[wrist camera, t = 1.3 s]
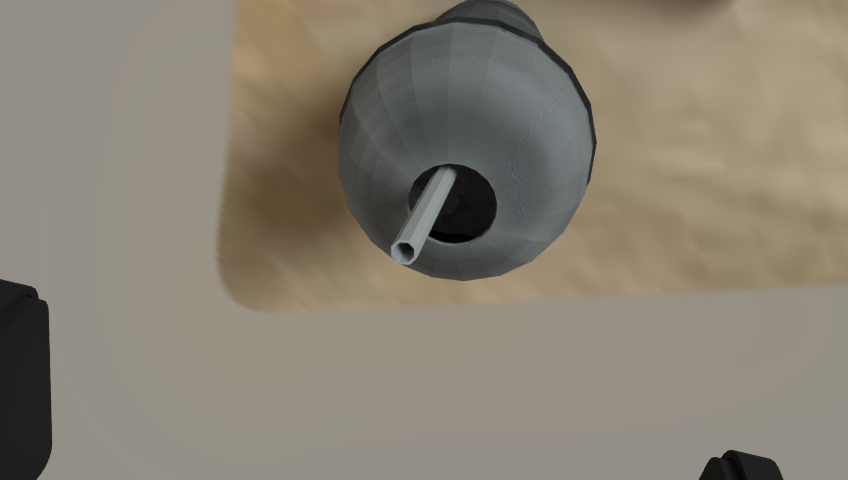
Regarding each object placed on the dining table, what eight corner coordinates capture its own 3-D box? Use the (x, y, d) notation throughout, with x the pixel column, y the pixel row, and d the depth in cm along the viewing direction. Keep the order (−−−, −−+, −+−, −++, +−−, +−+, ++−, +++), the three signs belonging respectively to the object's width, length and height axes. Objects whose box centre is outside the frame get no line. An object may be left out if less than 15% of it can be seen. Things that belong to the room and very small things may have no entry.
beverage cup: (437, 159, 34) (339, 491, 17) (370, 2, 32) (166, 198, 14) (598, 102, 32) (680, 411, 15) (540, -71, 30) (555, 50, 12)
